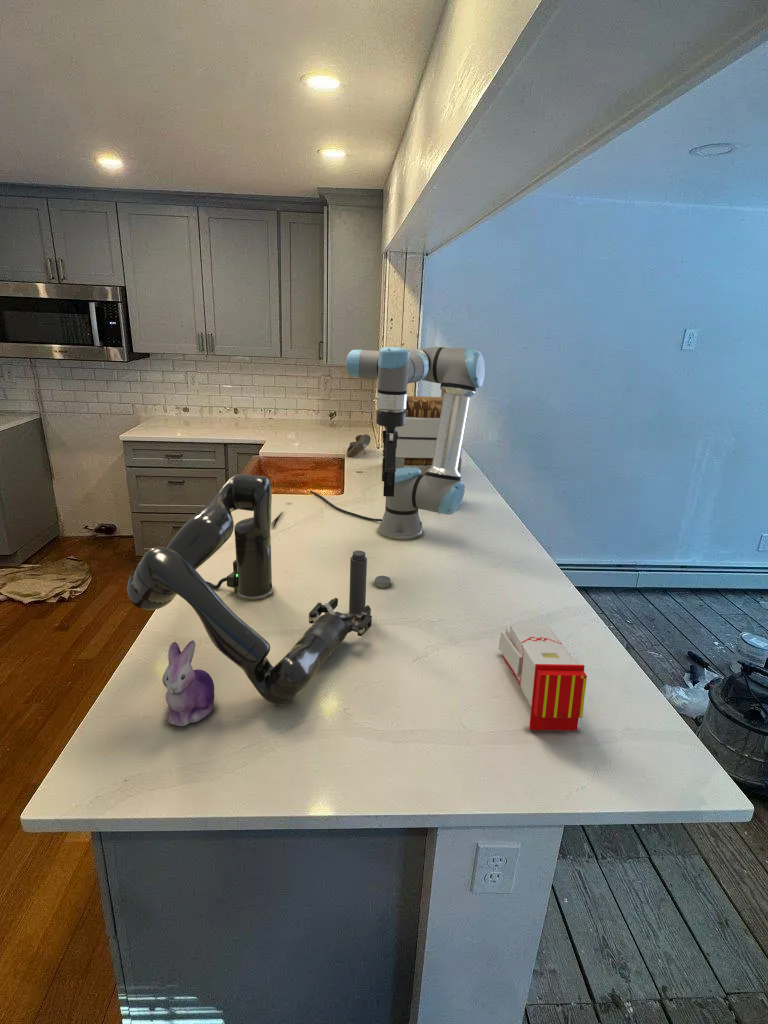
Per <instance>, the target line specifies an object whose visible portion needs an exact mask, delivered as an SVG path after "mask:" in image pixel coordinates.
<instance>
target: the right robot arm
mask: <svg viewBox="0 0 768 1024" xmlns="http://www.w3.org/2000/svg"><path fill="white" fill-rule="evenodd" d="M345 360H346V363H345V368H346V371H347V374H348V375H349V376H350V377H353V378H358V379H369V380H377V395H375V396H374V400H376V404H377V405H376V407H377V408H378V409H377V410H376V415H375V417H376V418H375V423H376V425H378V426H380V427H384V428H383V429H384V430H382V432H381V437H382V443H383V446H382V447H383V448H382V464H381V465H382V468H381V470H382V471H381V482H383V492H382V493H383V494H382V496H383V497H385V504H384V505H385V507H384V508H385V509H384V513H383V515H382V518H374V517H369V516H365V515H361V514H357V513H355V512H351V511H348V510H345V509H343V508H340V507H338V506H336V505H335V504H333V503H332V502H330V501H328V500H327V499H326V498H325V497H324V496H322V495H321V494H319V493H317V492H314V491H313V490H309V493H310V494H312V495H314V496H316V497H318V498H320V499H322V500H323V501H324V502H325V503H326V504H327V505H329V506H331V507H332V508H333V509H335V510H337V511H339V512H342V513H344V514H346V515H350V516H354V517H357V518H360V519H362V520H363V519H364V520H366V521H367V520H368V521H372V522H379V526H378V533H379V534H380V535H381V536H382V537H385V538H387V539H389V540H395V541H410V540H415V539H418V538H420V537H421V536H422V535H423V523H422V520H421V518H420V515H419V510H421V511H427V512H432V513H437V514H439V515H442V514H443V515H453V514H455V513H456V512H457V511H458V509H459V508H460V506H461V504H462V502H463V499H464V496H465V490H466V485H465V483H464V481H462V480H461V479H462V475H461V474H459V472H458V470H457V469H458V463H459V457H460V452H461V446H462V447H463V443H462V441H464V440H463V439H464V433H465V428H466V422H467V416H468V410H469V406H470V405H469V403H470V399H471V398H472V397H473V396H474V395H476V391H477V389H479V388H481V387H482V386H483V384H484V381H485V375H486V374H485V373H486V368H485V367H486V366H485V365H486V364H485V360H484V357H483V354H482V353H481V352H480V351H479V350H477V349H471V348H461V347H460V348H459V347H445V346H430V347H421V348H411V349H409V350H408V348H407V347H406V348H405V347H400V346H399V347H397V346H384V347H383V346H382V347H381V348H380V349H379V350H368V349H367V350H366V349H352V350H351V351H350V352H349V353H348V354H347V357H346V359H345ZM421 381H425V382H429V383H435V384H440V388H439V389H440V390H441V392H443V394H444V396H443V402H442V408H441V414H440V420H439V426H438V432H437V438H436V444H435V450H434V456H433V462H432V465H430V466H429V468H428V469H426V472H425V474H422V470H421V468H419V467H415V466H411V467H410V466H406V467H405V466H404V468H397V469H395V466H396V448H397V440H398V433H397V431H395V427H401V426H404V425H405V415H406V412H405V411H404V410H405V409H406V401H407V396H408V392H407V391H408V384H412V383H414V384H415V383H419V382H421ZM384 457H385V458H384ZM392 467H393V468H392Z"/></svg>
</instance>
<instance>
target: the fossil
mask: <svg viewBox="0 0 768 1024" xmlns="http://www.w3.org/2000/svg"><path fill="white" fill-rule="evenodd" d="M354 440H355V441H351V442H350V443H349V446H348V447H347V450H346V456H347V457H348V458H352V457H355V456H357V455H359V454H360V453H361V452H363V453H364V454H366V452H365V449H366V448H367V446H369V445H370V443H371V440H372V439H371V436H370V434H367V433H365V434H358V435H356V436H355V438H354Z"/></svg>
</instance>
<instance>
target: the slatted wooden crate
mask: <svg viewBox="0 0 768 1024" xmlns="http://www.w3.org/2000/svg"><path fill="white" fill-rule="evenodd" d="M440 393H441V394H440V396H415V395H414V396H413V395H412V396H411V395H407V401H406V409H405V410H404V411H405V412H406V415H405V425H404V426H401V427H395V431H397V433H398V440H397V448H396V466H395V469H397V468H404V467H405V466H406V467H410V466H411V467H417V466H418V467H431V466H432V462H433V456H434V450H435V444H436V438H437V432H438V426H439V420H440V414H441V408H442V402H443V396H444V394H443V392H442V391H441V392H440ZM463 442H464V440H462V444H463ZM462 453H463V445H462V446H461V452H460V457H459V463H458V469H457V470H458V472H459V474H460V475H461V472H462V461H463V460H462ZM383 458H385V457H383ZM392 468H393V467H392Z"/></svg>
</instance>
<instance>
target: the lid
mask: <svg viewBox="0 0 768 1024" xmlns="http://www.w3.org/2000/svg"><path fill="white" fill-rule="evenodd" d="M391 582H392V581H391V577H389V576H387V575H378V576H375V578H374V586H375V587H377V588H379V589H386V588H389V587H390V586H391V584H392V583H391Z"/></svg>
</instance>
